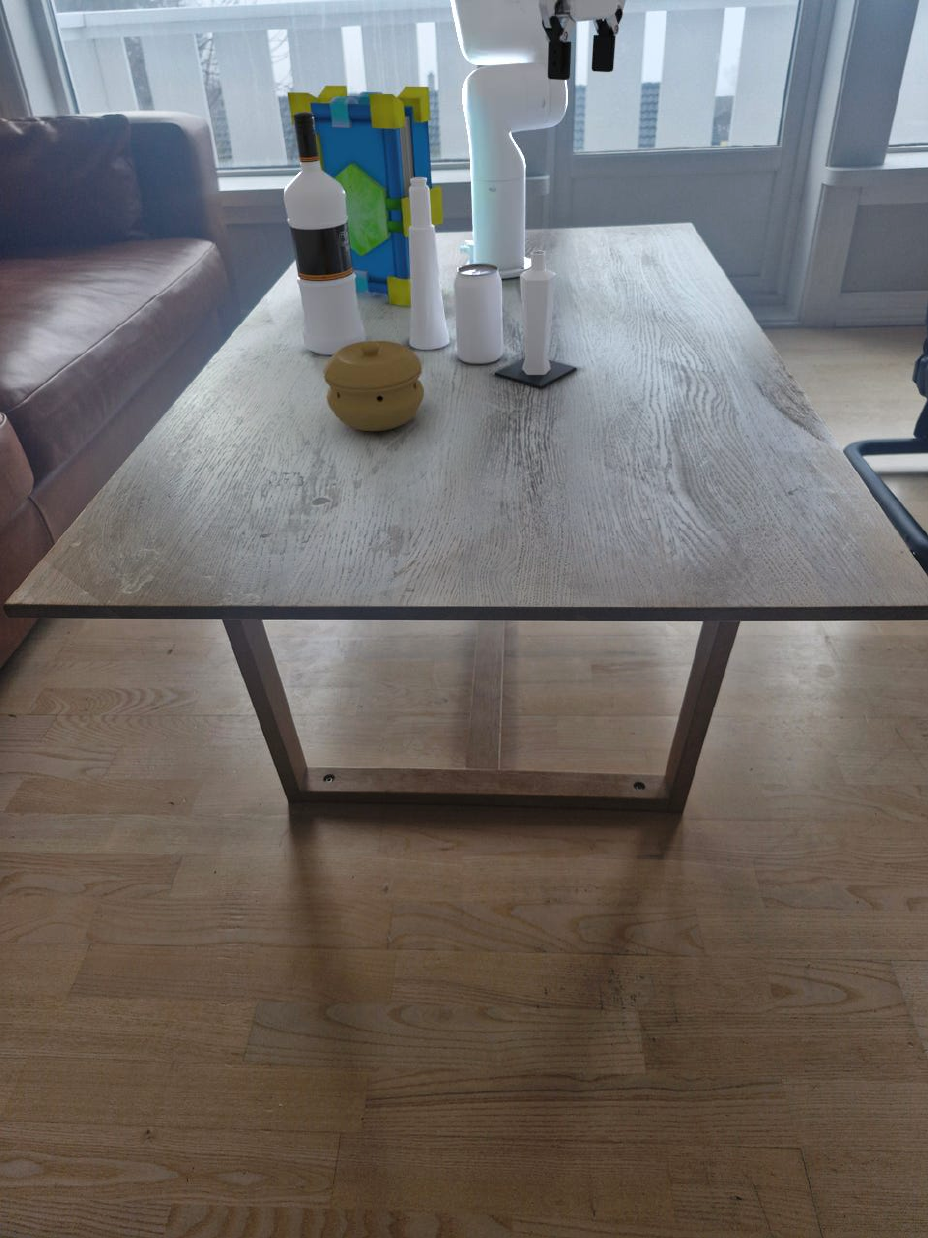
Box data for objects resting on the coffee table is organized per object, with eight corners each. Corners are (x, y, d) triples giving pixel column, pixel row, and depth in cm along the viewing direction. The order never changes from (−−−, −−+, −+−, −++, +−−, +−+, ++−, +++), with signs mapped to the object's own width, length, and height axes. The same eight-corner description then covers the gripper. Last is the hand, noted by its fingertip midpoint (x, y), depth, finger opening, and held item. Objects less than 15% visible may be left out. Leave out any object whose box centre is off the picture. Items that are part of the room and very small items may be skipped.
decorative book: (407, 311, 132) (388, 95, 113) (301, 294, 142) (269, 93, 123) (453, 287, 141) (443, 84, 122) (351, 273, 151) (328, 83, 132)
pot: (354, 399, 104) (344, 321, 98) (439, 407, 101) (434, 327, 95) (314, 437, 95) (300, 355, 89) (406, 447, 92) (398, 363, 86)
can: (508, 350, 115) (507, 263, 108) (494, 367, 111) (493, 276, 103) (466, 347, 117) (462, 261, 110) (451, 363, 112) (446, 274, 105)
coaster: (494, 375, 108) (494, 372, 108) (530, 357, 113) (530, 354, 113) (541, 388, 104) (541, 385, 104) (576, 369, 109) (576, 367, 108)
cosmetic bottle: (402, 348, 118) (387, 181, 104) (419, 334, 122) (407, 173, 109) (439, 351, 116) (429, 183, 102) (455, 338, 120) (448, 174, 107)
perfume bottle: (553, 363, 110) (556, 247, 100) (553, 375, 106) (556, 256, 97) (520, 363, 110) (520, 247, 101) (518, 375, 107) (519, 257, 98)
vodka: (300, 340, 122) (260, 111, 104) (358, 331, 125) (330, 105, 106) (312, 360, 115) (272, 118, 97) (373, 350, 118) (346, 112, 99)
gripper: (605, -96, 101) (595, 67, 112) (519, -97, 92) (517, 81, 103) (656, -100, 97) (640, 69, 108) (571, -102, 88) (564, 84, 99)
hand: (580, 75), depth 106 cm, fingers open, 9 cm apart
